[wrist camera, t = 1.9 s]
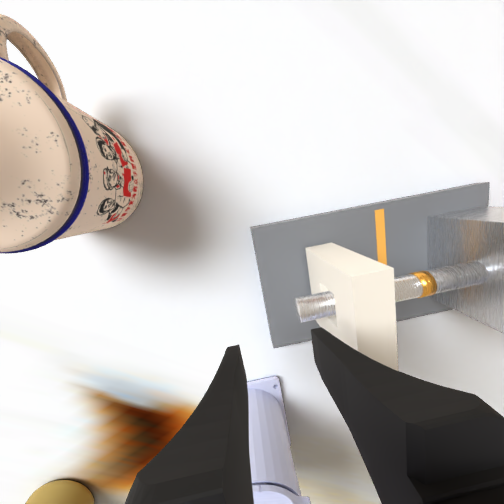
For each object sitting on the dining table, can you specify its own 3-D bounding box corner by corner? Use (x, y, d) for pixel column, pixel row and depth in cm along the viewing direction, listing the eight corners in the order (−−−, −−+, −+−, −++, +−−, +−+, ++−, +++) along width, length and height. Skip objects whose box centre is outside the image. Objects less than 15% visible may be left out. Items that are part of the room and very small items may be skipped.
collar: (339, 313, 22) (398, 375, 14) (314, 319, 22) (361, 384, 14) (331, 242, 20) (393, 268, 13) (305, 247, 20) (351, 277, 12)
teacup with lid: (153, 231, 21) (55, 268, 9) (43, 232, 20) (-211, 275, 8) (138, 77, 18) (-23, -136, 7) (11, 72, 17) (-416, -177, 6)
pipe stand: (474, 286, 23) (651, 347, 13) (290, 326, 22) (336, 422, 13) (478, 206, 21) (684, 210, 12) (277, 246, 21) (319, 286, 11)
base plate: (471, 297, 25) (484, 302, 24) (271, 341, 24) (273, 348, 23) (475, 183, 22) (490, 182, 21) (250, 227, 21) (251, 228, 20)
